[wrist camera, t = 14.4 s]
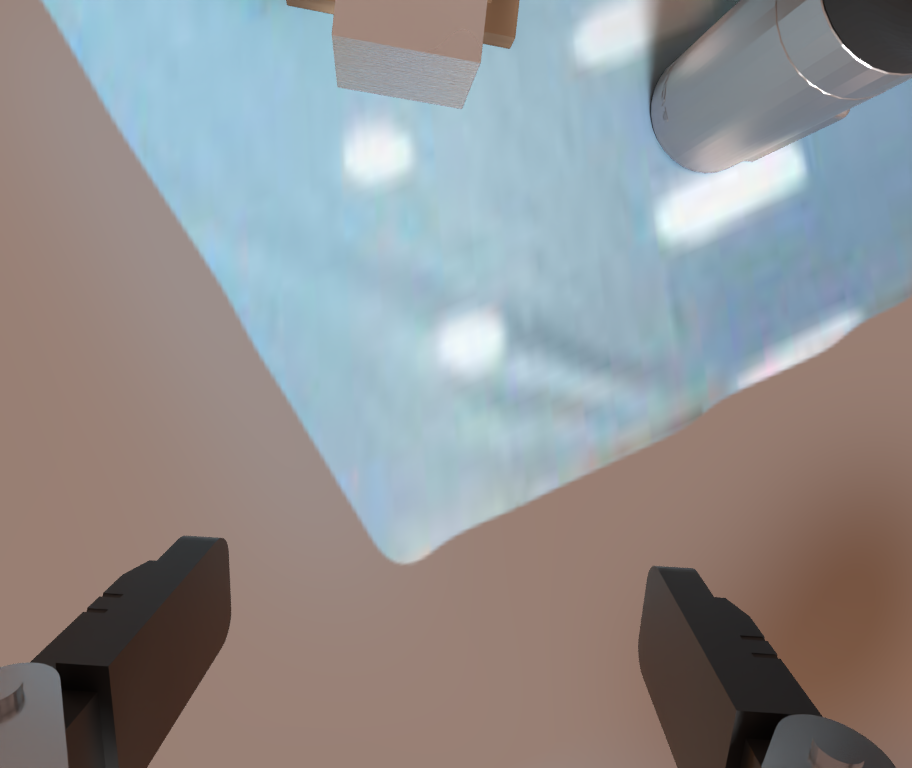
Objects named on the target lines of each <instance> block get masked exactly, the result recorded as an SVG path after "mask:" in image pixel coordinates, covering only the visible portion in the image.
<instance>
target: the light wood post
mask: <svg viewBox="0 0 912 768" xmlns="http://www.w3.org/2000/svg"><path fill="white" fill-rule="evenodd" d="M486 9H487V0H335V8H334V18H333V28H332V41H333V50H334V59H335V68H336V77H337V86H338V87H340V88H346V89H351V90H357V91H363V92H368V93H374V94H379V95H385V96H391V97H396V98H402V99H408V100H413V101H419V102H425V103H430V104H436V105H442V106H447V107H453V108H459V109H462V108H463V105H464V103H465V100H466V98H467V95H468V93H469V90H470V88H471V85H472V83H473V80H474V78H475V75H476V73H477V70H478V68H479V66H480V63H481V54H482V45H483V36H484V27H485V18H486Z"/></svg>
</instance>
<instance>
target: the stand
mask: <svg viewBox="0 0 912 768" xmlns="http://www.w3.org/2000/svg"><path fill="white" fill-rule="evenodd" d="M286 1H287V5H289V6H294V7H299V8H304V9H309V10H314V11H319V12H324V13H329V14H334V8H335V0H286ZM518 8H519V0H487V9H486V18H485V27H484V36H483V44H488V45H493V46H498V47H503V48H508V49H510V47H511V45H512V43H513V41H514V39H515V35H516V26H517V17H518Z"/></svg>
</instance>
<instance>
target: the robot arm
mask: <svg viewBox="0 0 912 768" xmlns="http://www.w3.org/2000/svg"><path fill="white" fill-rule="evenodd" d="M911 78H912V0H740V1H739V2H738V3H737V4H736V5H735V6H734V7H732V8H731V9H730V10H729V11H728V12H727V13H726V14H725V15H724V16H723V17H722V18H721V19H719V20H718V21H717V22H716V23H715V24H714V25H713V26H712V27H711V28H710V29H709V30H708V31H706V32H705V33H704V34H703V35H702V36H701V37H700V38H699V39H698V40H697V41H696V42H695V43H694V44H692V45H691V46H690V47H689V48H688V49H687V50H686V51H685V52H684V53H683V54H682V55H681V56H680V57H679V58H677V59H676V60H675V61H674V62H673V63H672V64H671V65H670V66H669V67H668V68H667V69H666V70H665V71H664V73H663V74H662V76H661V77H660V78H659V80H658V83H657V85H656V87H655V89H654V93H653V98H652V102H651V118H652V124H653V129H654V131H655V134H656V137H657V139H658V141H659V143H660V145H661V146H662V148H663V149H664V151H665V152H666V153H667V154H668V155H669V156H670V157H671V158H672V159H673V160H674V161H675V162H677V163H678V164H680V165H681V166H682V167H685V168H687V169H690V170H692V171H695V172H702V173H712V172H719V171H722V170H725V169H728V168H730V167H732V166H734V165H736V164H738V163H740V162H742V161H750V162H753V161H755V160H757V159H759V158H762V157H764V156H766V155H768V154H770V153H772V152H774V151H776V150H778V149H780V148H783V147H785V146H787V145H789V144H791V143H793V142H795V141H797V140H799V139H801V138H804V137H806V136H808V135H810V134H812V133H814V132H816V131H818V130H820V129H822V128H825V127H827V126H829V125H831V124H833V123H835V122H837V121H839V120H841V119H843V118H844V117H846V116H847V114H848V113H849V111H850V108H853V107H855V106H857V105H859V104H861V103H863V102H865V101H867V100H869V99H871V98H873V97H875V96H877V95H879V94H881V93H883V92H885V91H887V90H889V89H891V88H893V87H895V86H897V85H899V84H901V83H903V82H905V81H907V80H909V79H911ZM230 620H231V595H230V574H229V551H228V545H227V542H226V540H225V539H223V538H212V537H197V536H182V537H180V538H179V539H178V540H177V541H176V542H175V543H174V544H173V545H172V546H171V547H170V548H169V549H168V550H167V551H166V552H165V553H164V554H163V555H162V556H161V557H160V558H159V559H158V560H157V561H147V562H146V563H144V564H142V565H140V566H138V567H136V568H134V569H133V570H131V571H129V572H127V573H125V574H123V575H122V576H121V577H120V578H119V579H118V580H116V581H115V582H114V584H112V585H111V586H110V587H109V588H108V589H107V590H106V591H105V592H104V593H103V596H102V597H99V598H98V599H96V600H95V601H94V602H93V603H92V604H91V605H90V606H89V607H88V608H87V612H83V613H82V614H81V615H80V616H78V617H77V618H76V619H75V620H74V621H73V622H72V623H71V624H70V625H69V626H68V627H67V628H66V629H65V630H64V631H63V632H62V633H61V634H59V635H58V636H57V637H56V638H55V639H54V640H53V641H52V642H51V643H50V644H49V645H48V646H47V647H46V648H45V649H44V650H43V651H41V652H40V654H39V655H37V656H36V657H35V658H34V659H33V660H32V661H31V662H30V663H18V664H12V665H7V666H3V667H0V768H147V767H148V765H149V763H150V762H151V760H152V759H153V757H154V755H155V754H156V752H157V751H158V749H159V747H160V746H161V744H162V743H163V741H164V739H165V738H166V736H167V735H168V733H169V731H170V730H171V728H172V727H173V725H174V723H175V722H176V720H177V719H178V717H179V715H180V714H181V712H182V710H183V709H184V707H185V706H186V704H187V703H188V701H189V699H190V698H191V696H192V694H193V693H194V691H195V690H196V688H197V686H198V685H199V683H200V682H201V680H202V678H203V677H204V675H205V674H206V672H207V670H208V669H209V667H210V666H211V664H212V662H213V661H214V659H215V657H216V656H217V654H218V653H219V651H220V650H221V648H222V646H223V644H224V642H225V640H226V637H227V633H228V630H229V626H230ZM638 643H639V644H638V649H639V650H638V652H639V662H640V669H641V673H642V675H643V679H644V681H645V684H646V686H647V689H648V692H649V694H650V697H651V700H652V702H653V705H654V707H655V710H656V713H657V715H658V718H659V721H660V723H661V726H662V728H663V731H664V734H665V736H666V739H667V741H668V744H669V747H670V749H671V752H672V754H673V757H674V760H675V762H676V765H677V767H678V768H895V766H894V764H893V763H892V762H891V760H890V759H889V758H888V757H887V756H886V754H885V753H884V752H883V751H882V750H881V749H879V748H878V747H877V746H876V745H875V744H874V743H873V742H871V741H870V740H869V739H867V738H866V737H864V736H863V735H861V734H860V733H858V732H856V731H855V730H853V729H851V728H849V727H847V726H845V725H843V724H841V723H839V722H836V721H833V720H831V719H827V718H824V717H822V715H821V714H820V713H819V711H818V710H817V708H816V707H815V706H814V704H813V703H812V702H811V700H810V699H809V697H808V696H807V695H806V693H805V692H804V691H803V689H802V688H801V686H800V685H799V684H798V682H797V681H796V680H795V679H794V677H793V675H792V674H791V673H790V671H789V670H788V669H787V667H786V666H785V664H784V663H783V662H782V660H781V659H778V658H777V653H776V652H775V651H774V650H773V648H772V647H771V645H770V644H769V643H768V641H765V639H764V636H763V634H762V633H761V632H760V630H759V629H758V627H757V626H756V625H755V623H754V622H753V621H752V619H751V618H750V617H749V616H748V615H747V614H746V613H744V612H743V611H741V610H740V609H739V608H738V607H736V606H735V605H734V604H732V603H731V602H730V601H728V600H727V599H726V598H717V597H713V595H712V594H711V592H710V590H709V589H708V587H707V586H706V584H705V583H704V581H703V580H702V578H701V577H700V576H699V574H698V573H697V571H696V570H695V569H692V568H678V567H662V566H653V567H651V569H650V570H649V573H648V577H647V584H646V591H645V598H644V605H643V612H642V619H641V626H640V634H639V642H638Z"/></svg>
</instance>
